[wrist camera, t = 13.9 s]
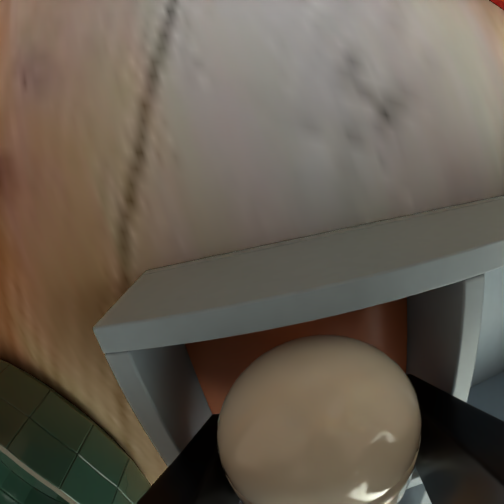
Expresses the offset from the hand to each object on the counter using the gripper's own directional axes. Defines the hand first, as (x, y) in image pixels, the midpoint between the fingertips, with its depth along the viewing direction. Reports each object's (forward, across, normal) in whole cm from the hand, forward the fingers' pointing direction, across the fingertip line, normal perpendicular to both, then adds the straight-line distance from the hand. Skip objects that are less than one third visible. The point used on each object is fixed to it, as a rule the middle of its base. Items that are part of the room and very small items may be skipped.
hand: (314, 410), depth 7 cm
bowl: (+2, +14, +4) cm, 15 cm away
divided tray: (+2, -4, +4) cm, 5 cm away
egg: (+1, 0, 0) cm, 1 cm away
